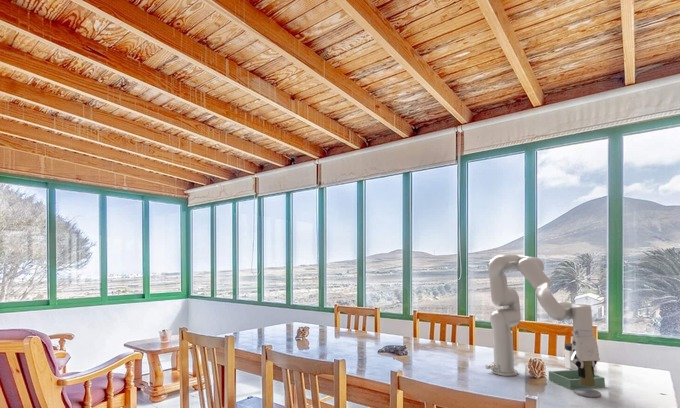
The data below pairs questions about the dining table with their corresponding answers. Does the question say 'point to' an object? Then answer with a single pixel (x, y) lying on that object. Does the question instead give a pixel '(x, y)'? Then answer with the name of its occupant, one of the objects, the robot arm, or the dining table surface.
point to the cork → (587, 374)
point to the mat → (587, 392)
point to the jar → (569, 357)
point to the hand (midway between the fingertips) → (586, 376)
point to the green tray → (573, 379)
